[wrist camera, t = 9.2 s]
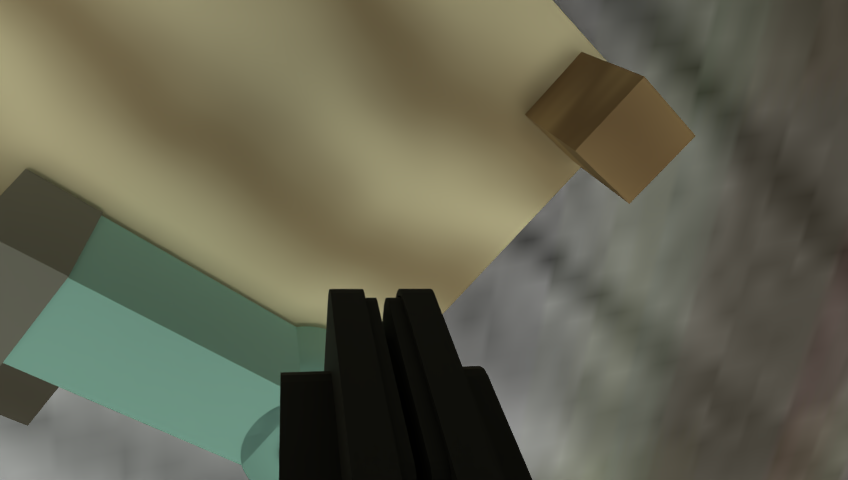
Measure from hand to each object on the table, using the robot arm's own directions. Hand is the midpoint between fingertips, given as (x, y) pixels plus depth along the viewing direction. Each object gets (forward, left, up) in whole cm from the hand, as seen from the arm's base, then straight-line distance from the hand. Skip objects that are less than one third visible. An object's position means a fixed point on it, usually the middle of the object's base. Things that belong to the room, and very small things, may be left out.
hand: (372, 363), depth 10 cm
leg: (+7, +1, -12) cm, 14 cm away
